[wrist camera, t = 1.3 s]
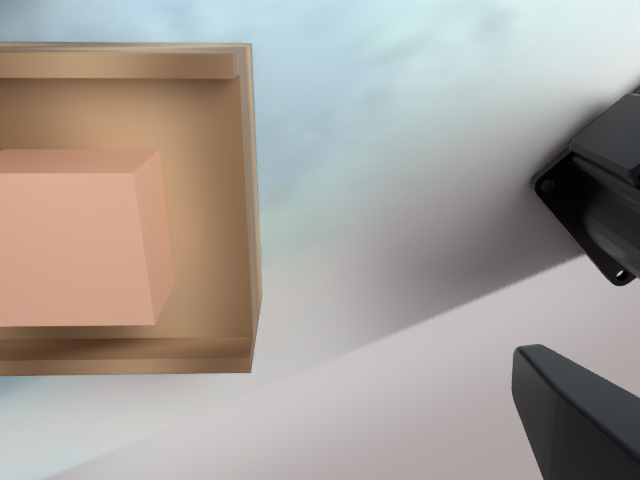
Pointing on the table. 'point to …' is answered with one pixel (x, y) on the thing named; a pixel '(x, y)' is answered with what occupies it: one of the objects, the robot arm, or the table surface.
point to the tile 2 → (83, 237)
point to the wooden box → (178, 184)
